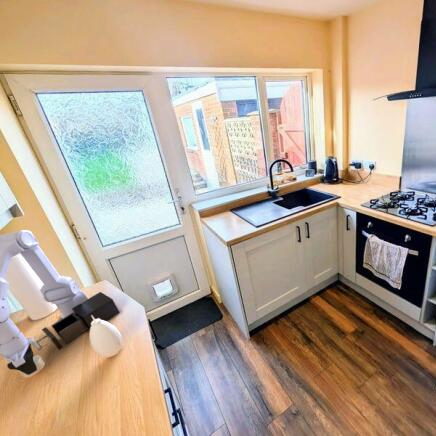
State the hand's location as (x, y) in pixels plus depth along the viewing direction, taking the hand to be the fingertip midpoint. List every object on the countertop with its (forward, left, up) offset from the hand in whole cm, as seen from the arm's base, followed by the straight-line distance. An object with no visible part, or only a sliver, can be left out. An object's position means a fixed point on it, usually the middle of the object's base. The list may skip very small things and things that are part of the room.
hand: (31, 366), depth 80 cm
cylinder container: (-12, -38, -4) cm, 40 cm away
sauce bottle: (-16, +16, -4) cm, 23 cm away
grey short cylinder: (0, 0, -1) cm, 1 cm away
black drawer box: (-22, -8, -4) cm, 24 cm away
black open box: (-10, -9, -3) cm, 13 cm away
